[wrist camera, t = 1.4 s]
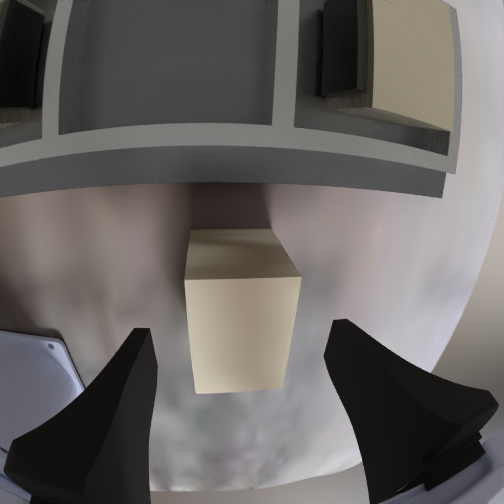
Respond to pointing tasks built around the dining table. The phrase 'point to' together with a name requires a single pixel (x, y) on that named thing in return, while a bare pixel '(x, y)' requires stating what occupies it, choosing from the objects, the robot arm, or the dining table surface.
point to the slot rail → (229, 93)
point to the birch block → (239, 309)
